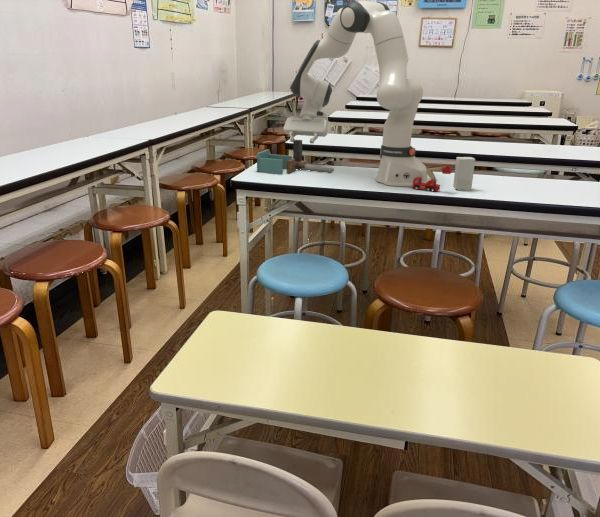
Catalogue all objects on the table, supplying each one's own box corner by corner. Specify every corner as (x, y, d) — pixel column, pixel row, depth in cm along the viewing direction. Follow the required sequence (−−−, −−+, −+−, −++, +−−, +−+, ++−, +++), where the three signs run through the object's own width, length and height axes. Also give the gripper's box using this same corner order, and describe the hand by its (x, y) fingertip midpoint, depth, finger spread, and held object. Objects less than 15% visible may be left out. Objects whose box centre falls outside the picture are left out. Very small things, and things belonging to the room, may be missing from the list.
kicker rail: (333, 171, 222) (333, 168, 221) (330, 173, 217) (330, 170, 217) (297, 167, 227) (297, 165, 227) (293, 169, 223) (293, 167, 223)
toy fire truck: (413, 187, 196) (416, 162, 192) (449, 192, 190) (452, 166, 186) (411, 189, 193) (413, 164, 189) (447, 193, 187) (450, 167, 183)
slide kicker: (305, 167, 226) (305, 140, 221) (294, 173, 214) (295, 144, 210) (292, 166, 228) (293, 139, 223) (281, 172, 216) (281, 143, 212)
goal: (291, 169, 223) (291, 151, 220) (281, 174, 214) (281, 155, 211) (267, 167, 227) (267, 149, 224) (257, 172, 218) (256, 153, 215)
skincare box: (467, 188, 196) (472, 156, 192) (471, 190, 192) (476, 158, 187) (452, 187, 196) (456, 156, 191) (455, 190, 192) (459, 158, 187)
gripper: (286, 111, 230) (278, 135, 225) (329, 113, 223) (321, 138, 218) (289, 120, 236) (281, 144, 231) (331, 122, 229) (324, 147, 224)
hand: (301, 141), depth 225 cm, fingers open, 8 cm apart
